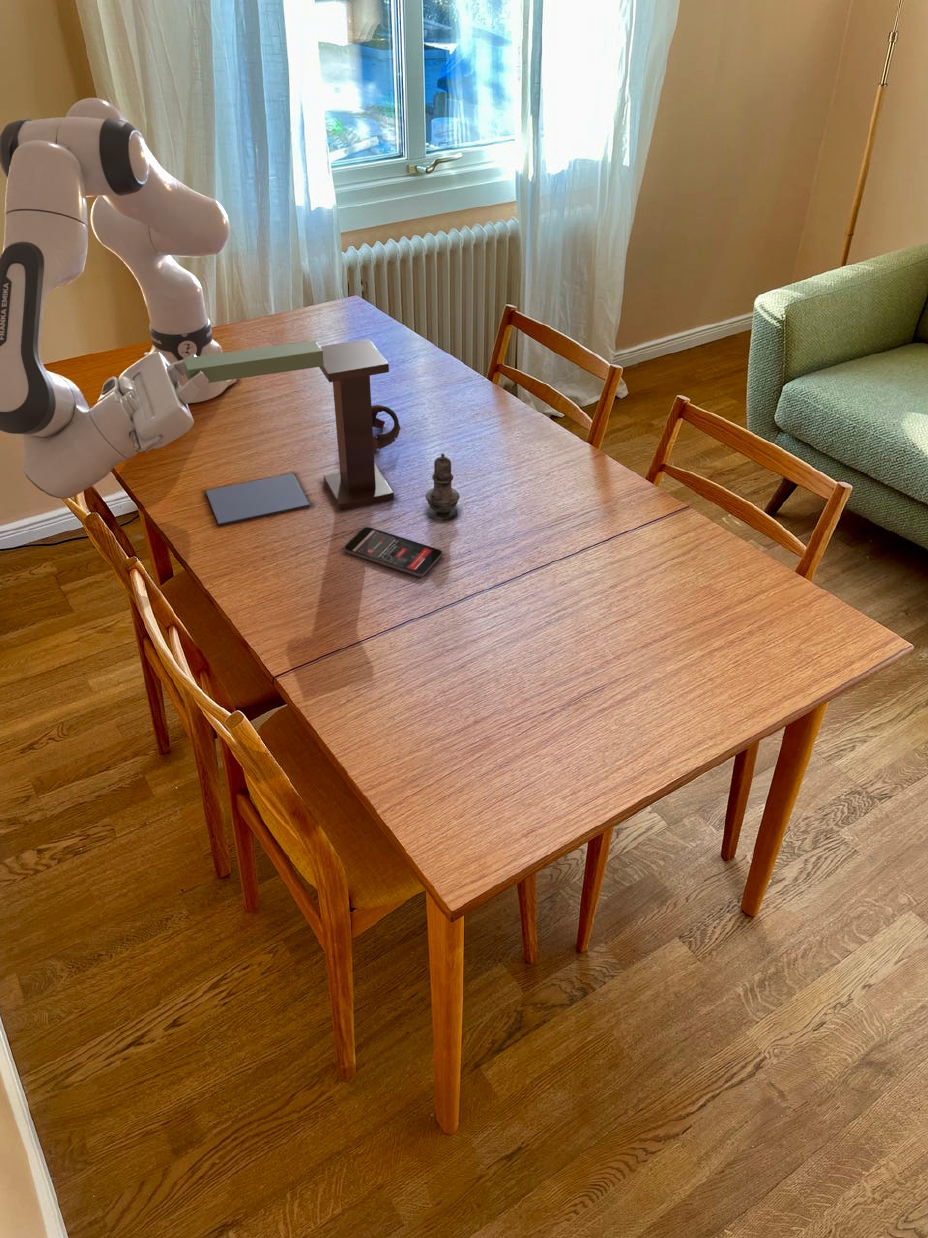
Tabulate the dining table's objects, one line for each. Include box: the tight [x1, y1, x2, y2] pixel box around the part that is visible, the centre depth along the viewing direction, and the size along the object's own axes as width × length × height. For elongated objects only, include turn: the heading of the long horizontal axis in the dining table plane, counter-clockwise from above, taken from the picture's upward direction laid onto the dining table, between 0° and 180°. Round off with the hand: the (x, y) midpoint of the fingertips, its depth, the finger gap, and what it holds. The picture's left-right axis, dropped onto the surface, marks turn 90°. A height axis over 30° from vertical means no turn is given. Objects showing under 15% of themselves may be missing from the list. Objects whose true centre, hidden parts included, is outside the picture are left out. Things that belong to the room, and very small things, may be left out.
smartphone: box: [343, 526, 443, 578], centre depth 156 cm, size 7×1×15 cm
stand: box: [318, 338, 395, 512], centre depth 161 cm, size 10×10×26 cm
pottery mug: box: [371, 404, 402, 453], centre depth 181 cm, size 12×10×8 cm
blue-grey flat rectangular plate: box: [205, 472, 310, 526], centre depth 167 cm, size 11×16×1 cm
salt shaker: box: [425, 452, 461, 523], centre depth 161 cm, size 6×6×12 cm
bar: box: [183, 339, 324, 383], centre depth 141 cm, size 4×20×2 cm, turn 113°
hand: (201, 366), depth 138 cm, fingers closed on bar, 4 cm apart
